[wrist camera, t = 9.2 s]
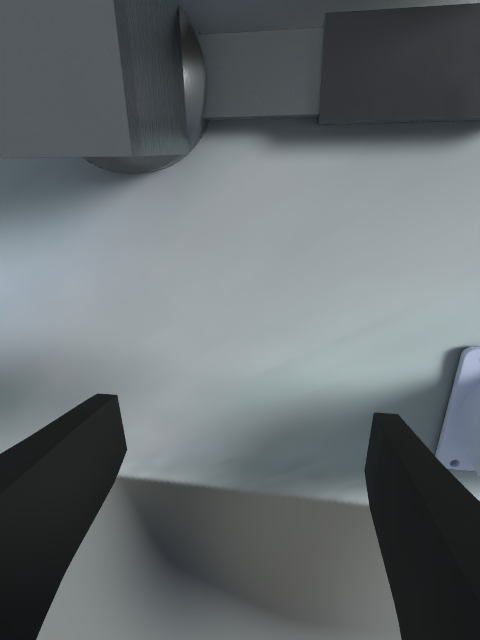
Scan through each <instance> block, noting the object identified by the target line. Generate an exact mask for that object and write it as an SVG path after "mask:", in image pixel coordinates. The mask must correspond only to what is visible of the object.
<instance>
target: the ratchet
mask: <svg viewBox="0 0 480 640" xmlns="http://www.w3.org/2000/svg"><path fill="white" fill-rule="evenodd" d="M179 13H180V29H181V45H182V61H183V77H184V93H185V108H186V124H187V140H188V154H189V153H190V152H191V150H192V149H193V148H194V147H195V146H196V144H197V143H198V142H199V140H200V139H201V137H202V135H203V133H204V131H205V129H206V127H207V124H208V121H209V120H243V119H276V118H310V117H317V125H338V124H375V123H412V122H449V121H480V3H474V4H459V5H443V6H428V7H413V8H397V9H382V10H367V11H352V12H336V13H326V15H325V19H324V24H323V27H317V28H300V29H284V30H267V31H251V32H234V33H218V34H201V35H200V33H199V31H198V30H197V28H196V26H195V25H194V23H193V22H192V21H191V19H190V18H189V17H188V16H187V14H186V13H185V12H184V11H183V9H182V8H181V7H180V6H179ZM188 154H184V155H156V156H122V157H83V158H84V159H86V160H87V161H89V162H90V163H92V164H94V165H96V166H98V167H100V168H103V169H106V170H109V171H113V172H117V173H128V174H131V173H142V172H149V171H156V170H160V169H164V168H167V167H169V166H171V165H173V164H175V163H177V162H178V161H180V160H181V159H183V158H184V157H185V156H186V155H188Z"/></svg>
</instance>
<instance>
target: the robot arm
mask: <svg viewBox="0 0 480 640" xmlns="http://www.w3.org/2000/svg"><path fill="white" fill-rule="evenodd" d="M479 358H480V347H468V348H466V349H465V350H464V351H463V352H462V354H461V357H460V361H459V365H458V369H457V373H456V376H455V380H454V384H453V388H452V392H451V396H450V400H449V404H448V408H447V411H446V415H445V419H444V423H443V427H442V431H441V435H440V439H439V442H438V446H437V450H436V454H435V455H434V454H433V453H432V452H431V451H430V450H429V449H428V448H427V447H426V445H425V444H424V443H423V442H422V441H421V440H420V439H419V438H418V436H417V435H416V434H415V433H414V432H413V431H412V430H411V428H410V427H409V426H408V425H407V424H406V423H405V422H404V421H403V419H402V418H401V417H400V416H399V415H398V414H387V413H374V415H373V421H372V428H371V434H370V440H369V446H368V452H367V459H366V465H365V477H366V485H367V492H368V499H369V506H370V511H371V514H372V519H373V523H374V526H375V530H376V534H377V538H378V542H379V546H380V550H381V553H382V557H383V561H384V565H385V568H386V572H387V576H388V580H389V584H390V588H391V592H392V596H393V599H394V603H395V608H396V613H397V617H398V622H399V627H400V633H401V638H402V640H480V501H479V500H477V499H476V498H475V497H474V496H473V495H472V494H471V493H470V492H469V491H468V490H467V489H466V488H465V487H464V486H463V485H462V484H461V483H460V482H459V481H458V480H457V479H456V478H455V477H454V476H453V475H452V474H451V473H450V471H449V470H448V469H455V470H466V471H476V472H477V474H478V475H479V477H480V360H479ZM126 451H127V446H126V440H125V435H124V429H123V424H122V418H121V413H120V407H119V402H118V396H117V395H110V394H96V395H94V396H93V397H91V398H89V399H87V400H86V401H84V402H83V403H81V404H79V405H78V406H76V407H75V408H73V409H72V410H70V411H69V412H67V413H65V414H64V415H62V416H61V417H59V418H58V419H56V420H55V421H53V422H52V423H50V424H48V425H47V426H45V427H44V428H42V429H41V430H39V431H37V432H36V433H34V434H33V435H31V436H30V437H28V438H26V439H25V440H23V441H21V442H20V443H18V444H16V445H14V446H13V447H11V448H9V449H8V450H6V451H4V452H3V453H1V454H0V640H36V638H37V636H38V634H39V631H40V629H41V626H42V624H43V621H44V619H45V617H46V614H47V612H48V610H49V608H50V605H51V603H52V601H53V599H54V597H55V594H56V592H57V590H58V587H59V585H60V583H61V581H62V578H63V576H64V574H65V572H66V570H67V568H68V566H69V565H70V562H71V561H72V559H73V557H74V555H75V553H76V551H77V550H78V548H79V546H80V544H81V542H82V540H83V539H84V537H85V535H86V533H87V531H88V530H89V528H90V526H91V524H92V522H93V521H94V519H95V517H96V515H97V513H98V511H99V510H100V508H101V506H102V504H103V502H104V501H105V499H106V497H107V495H108V493H109V491H110V489H111V488H112V486H113V484H114V482H115V479H116V477H117V474H118V472H119V470H120V467H121V464H122V462H123V459H124V456H125V454H126ZM453 460H456V461H454V462H451V461H453Z"/></svg>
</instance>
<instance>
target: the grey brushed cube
mask: <svg viewBox="0 0 480 640" xmlns="http://www.w3.org/2000/svg"><path fill="white" fill-rule="evenodd" d="M184 154H188V140H187V124H186V108H185V93H184V77H183V61H182V45H181V29H180V13H179V0H0V158H46V157H122V156H156V155H184Z"/></svg>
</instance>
